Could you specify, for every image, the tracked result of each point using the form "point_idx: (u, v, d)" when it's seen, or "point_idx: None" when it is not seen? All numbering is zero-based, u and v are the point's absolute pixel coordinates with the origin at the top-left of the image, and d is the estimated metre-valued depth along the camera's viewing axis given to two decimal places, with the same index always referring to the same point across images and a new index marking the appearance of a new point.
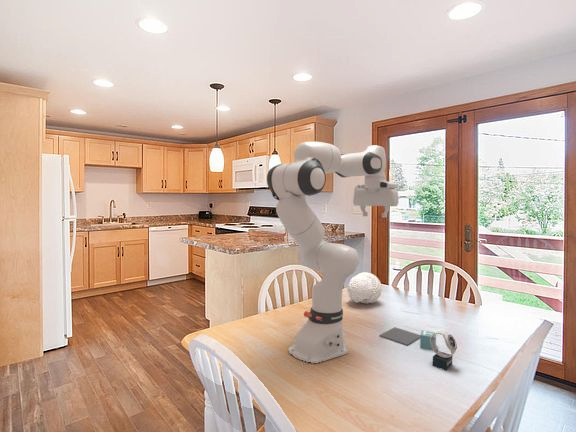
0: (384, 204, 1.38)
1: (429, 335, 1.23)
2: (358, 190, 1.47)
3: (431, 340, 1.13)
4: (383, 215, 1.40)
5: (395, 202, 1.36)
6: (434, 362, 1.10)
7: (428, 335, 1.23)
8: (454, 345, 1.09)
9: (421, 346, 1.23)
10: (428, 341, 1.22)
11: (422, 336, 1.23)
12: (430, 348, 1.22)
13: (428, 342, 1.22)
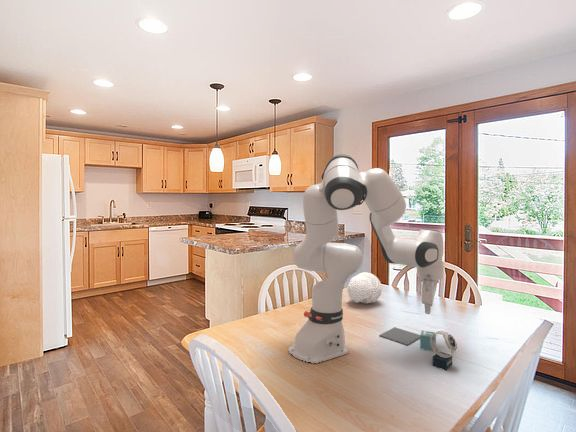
0: None
1: (429, 335, 1.23)
2: (433, 284, 1.16)
3: (431, 340, 1.13)
4: None
5: None
6: (434, 362, 1.10)
7: (428, 335, 1.23)
8: (454, 345, 1.09)
9: (421, 346, 1.23)
10: (428, 341, 1.22)
11: (422, 336, 1.23)
12: (430, 348, 1.22)
13: (428, 342, 1.22)
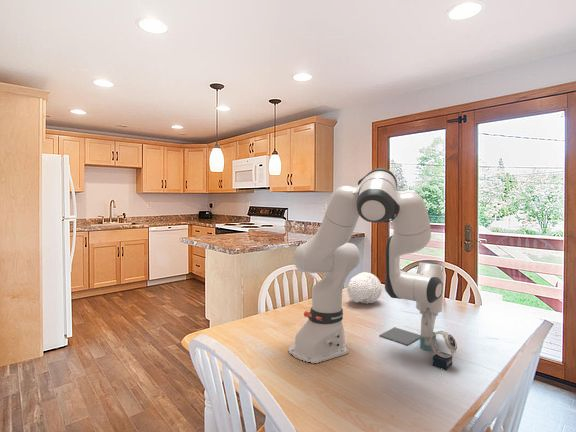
0: None
1: None
2: (432, 318, 1.17)
3: (431, 340, 1.13)
4: None
5: None
6: (434, 362, 1.10)
7: None
8: (454, 345, 1.09)
9: (421, 346, 1.23)
10: None
11: None
12: (430, 348, 1.22)
13: None
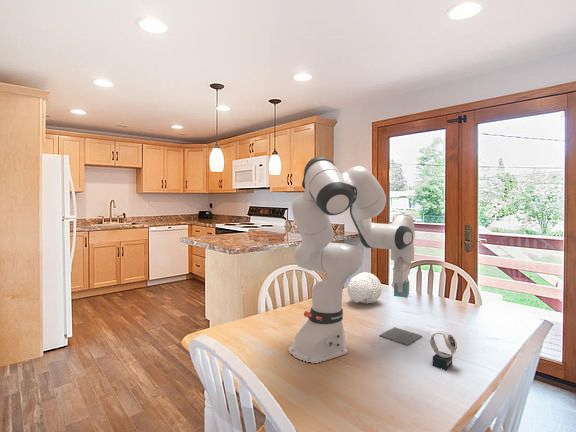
0: (408, 274, 1.37)
1: None
2: (404, 265, 1.25)
3: (431, 340, 1.13)
4: None
5: None
6: (434, 362, 1.10)
7: None
8: (454, 345, 1.09)
9: (395, 294, 1.32)
10: None
11: (396, 284, 1.31)
12: (403, 295, 1.30)
13: None
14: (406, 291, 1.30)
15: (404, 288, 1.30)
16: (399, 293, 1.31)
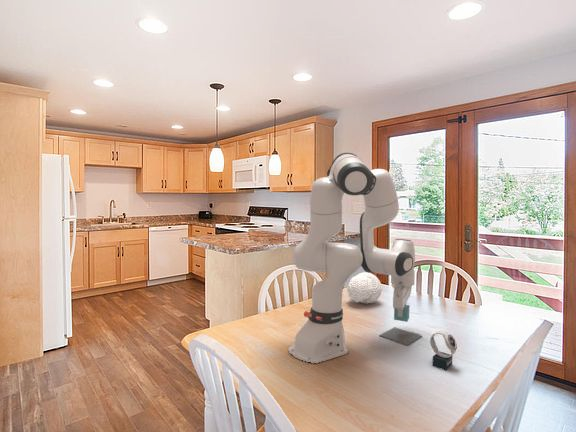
0: (408, 296, 1.37)
1: None
2: (404, 290, 1.25)
3: (431, 340, 1.13)
4: None
5: None
6: (434, 362, 1.10)
7: None
8: (454, 345, 1.09)
9: (395, 317, 1.32)
10: None
11: None
12: (403, 319, 1.31)
13: None
14: (406, 315, 1.30)
15: (404, 313, 1.30)
16: (399, 317, 1.31)
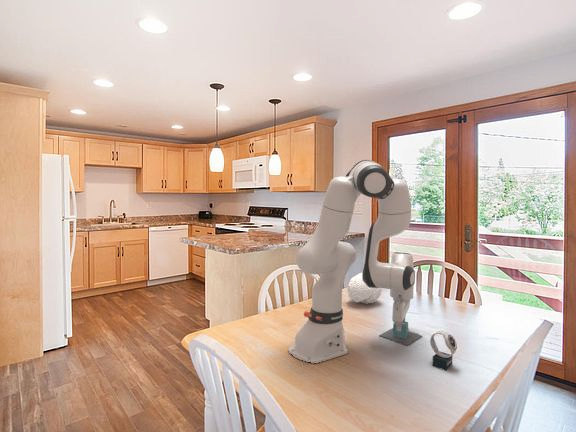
0: (407, 309, 1.38)
1: None
2: (403, 304, 1.26)
3: (431, 340, 1.13)
4: (404, 321, 1.37)
5: None
6: (434, 362, 1.10)
7: None
8: (454, 345, 1.09)
9: (394, 334, 1.33)
10: None
11: (395, 325, 1.32)
12: (402, 336, 1.31)
13: None
14: (405, 332, 1.31)
15: (403, 330, 1.31)
16: (398, 334, 1.32)
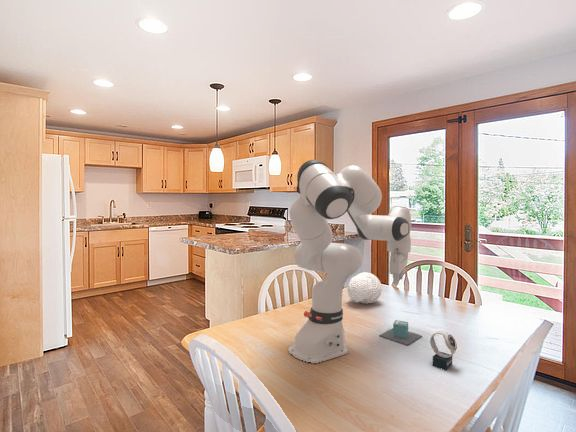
0: (405, 266, 1.38)
1: (401, 324, 1.32)
2: (400, 256, 1.26)
3: (431, 340, 1.13)
4: (402, 277, 1.38)
5: None
6: (434, 362, 1.10)
7: (400, 324, 1.32)
8: (454, 345, 1.09)
9: (394, 334, 1.33)
10: (400, 329, 1.31)
11: (395, 325, 1.32)
12: (402, 336, 1.31)
13: (400, 330, 1.31)
14: (405, 332, 1.31)
15: (403, 330, 1.31)
16: (398, 334, 1.32)
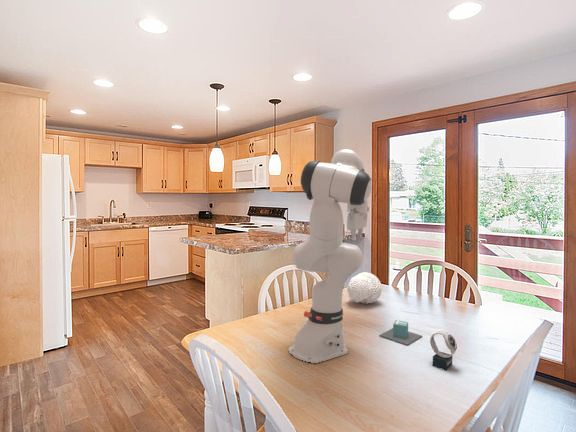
0: (364, 226, 1.54)
1: (401, 324, 1.32)
2: (356, 214, 1.42)
3: (431, 340, 1.13)
4: (361, 236, 1.54)
5: None
6: (434, 362, 1.10)
7: (400, 324, 1.32)
8: (454, 345, 1.09)
9: (394, 334, 1.33)
10: (400, 329, 1.31)
11: (395, 325, 1.32)
12: (402, 336, 1.31)
13: (400, 330, 1.31)
14: (405, 332, 1.31)
15: (403, 330, 1.31)
16: (398, 334, 1.32)
